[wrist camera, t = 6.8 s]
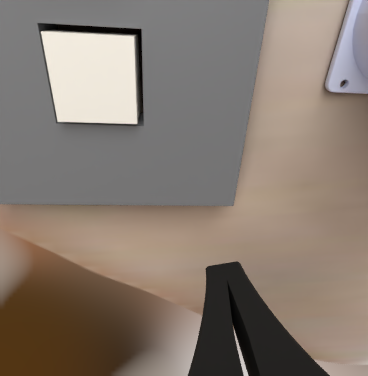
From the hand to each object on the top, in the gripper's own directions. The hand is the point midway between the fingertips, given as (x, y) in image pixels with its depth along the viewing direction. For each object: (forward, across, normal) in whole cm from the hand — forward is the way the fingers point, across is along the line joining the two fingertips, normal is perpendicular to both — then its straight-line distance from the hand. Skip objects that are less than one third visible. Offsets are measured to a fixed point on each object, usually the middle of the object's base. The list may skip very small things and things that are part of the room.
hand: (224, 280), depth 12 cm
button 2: (+9, +4, -8) cm, 12 cm away
